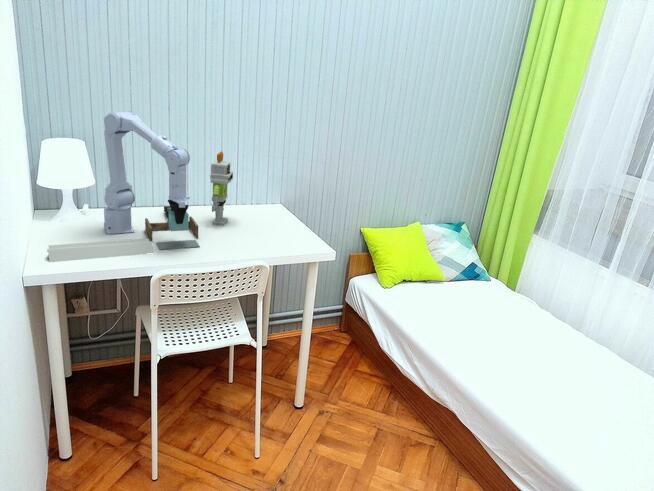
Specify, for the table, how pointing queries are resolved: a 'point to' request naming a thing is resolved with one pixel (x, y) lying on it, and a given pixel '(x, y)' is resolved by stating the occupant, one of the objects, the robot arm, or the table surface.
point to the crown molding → (99, 249)
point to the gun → (167, 209)
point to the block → (178, 227)
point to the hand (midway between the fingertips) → (177, 221)
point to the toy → (220, 187)
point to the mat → (177, 244)
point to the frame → (165, 226)
